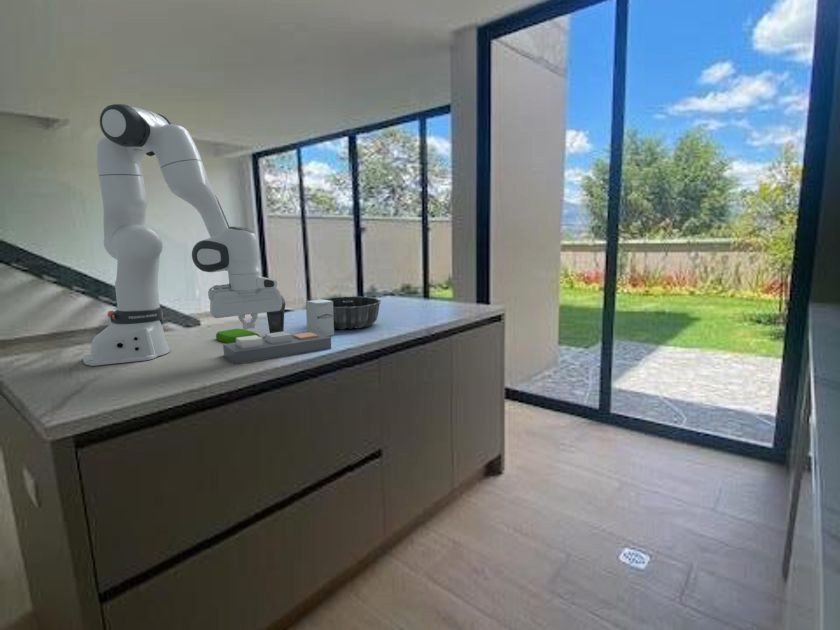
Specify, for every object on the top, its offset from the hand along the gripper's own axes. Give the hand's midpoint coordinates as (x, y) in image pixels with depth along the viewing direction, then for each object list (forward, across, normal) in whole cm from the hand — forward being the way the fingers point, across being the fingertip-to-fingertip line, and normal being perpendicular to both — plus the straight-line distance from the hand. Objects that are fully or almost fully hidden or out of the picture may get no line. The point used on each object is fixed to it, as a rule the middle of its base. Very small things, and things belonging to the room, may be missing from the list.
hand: (249, 328), depth 141 cm
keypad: (+9, +9, 0) cm, 12 cm away
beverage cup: (+9, +17, +23) cm, 30 cm away
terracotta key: (+8, +18, 0) cm, 19 cm away
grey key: (+6, +9, 0) cm, 11 cm away
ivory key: (+6, 0, 0) cm, 6 cm away
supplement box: (+9, +30, +15) cm, 34 cm away
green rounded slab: (+9, +5, +21) cm, 23 cm away
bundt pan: (+10, +46, +25) cm, 54 cm away
